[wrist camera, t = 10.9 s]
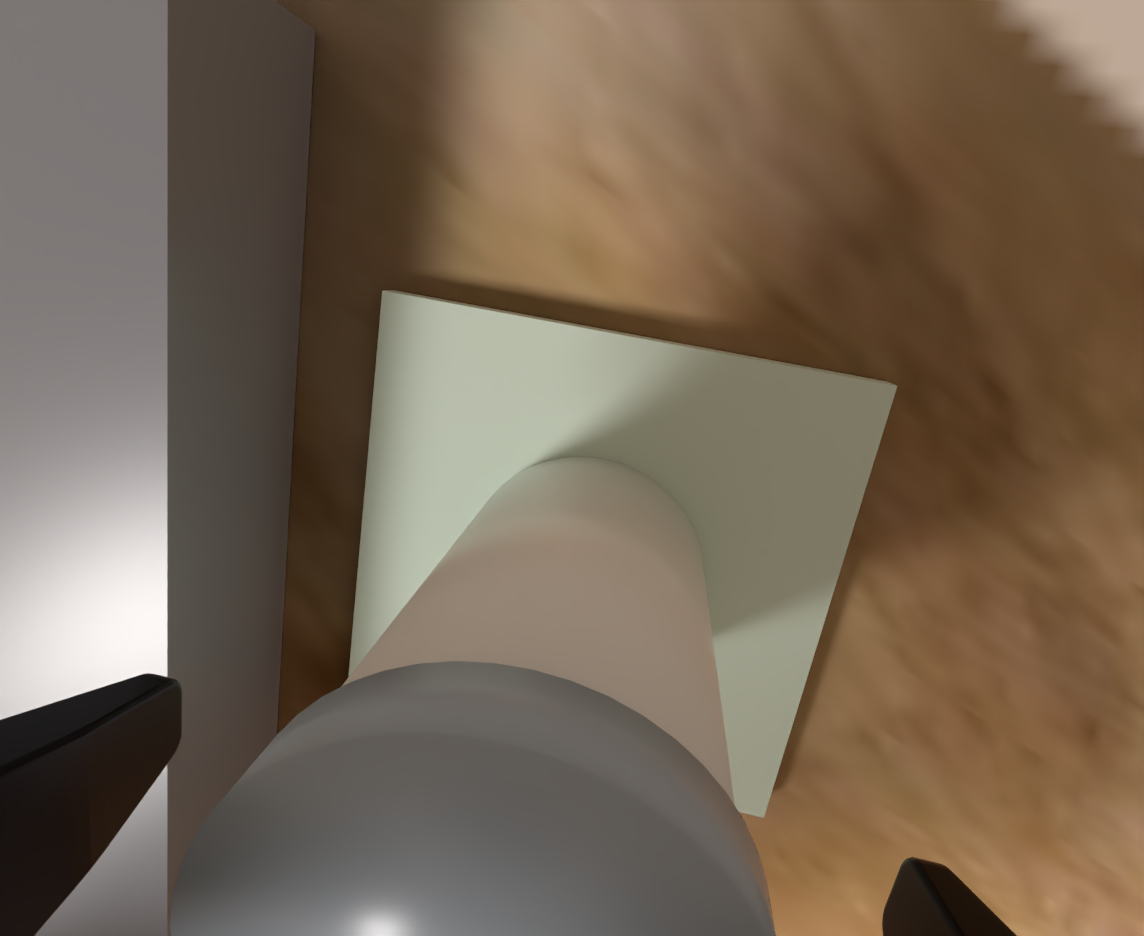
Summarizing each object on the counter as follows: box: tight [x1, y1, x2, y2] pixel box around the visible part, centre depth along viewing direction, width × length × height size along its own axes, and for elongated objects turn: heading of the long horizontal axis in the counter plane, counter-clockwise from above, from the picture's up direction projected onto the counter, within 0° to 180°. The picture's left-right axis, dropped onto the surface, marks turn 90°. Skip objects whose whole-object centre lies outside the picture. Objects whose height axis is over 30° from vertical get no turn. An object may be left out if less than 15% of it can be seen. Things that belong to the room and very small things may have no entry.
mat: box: [348, 290, 897, 818], centre depth 15 cm, size 10×10×1 cm
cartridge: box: [170, 457, 776, 936], centre depth 10 cm, size 5×5×9 cm
